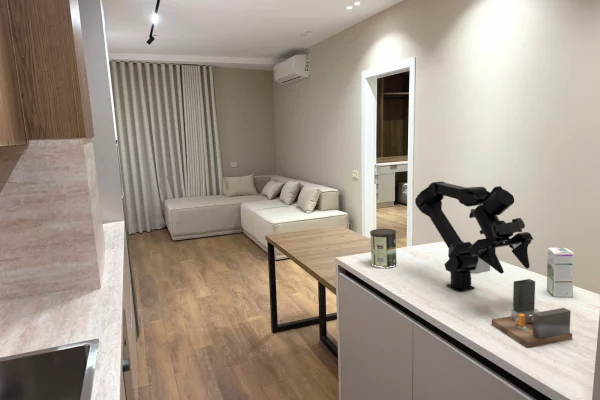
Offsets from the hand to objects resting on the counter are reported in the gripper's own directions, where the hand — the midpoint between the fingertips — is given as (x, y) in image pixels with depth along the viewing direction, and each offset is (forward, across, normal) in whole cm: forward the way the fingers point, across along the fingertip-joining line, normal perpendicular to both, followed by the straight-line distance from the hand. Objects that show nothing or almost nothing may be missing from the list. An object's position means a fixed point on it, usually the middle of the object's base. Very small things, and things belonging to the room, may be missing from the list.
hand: (515, 270), depth 117 cm
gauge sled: (+13, -4, +2) cm, 14 cm away
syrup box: (+7, +23, +13) cm, 27 cm away
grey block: (-15, +17, +38) cm, 44 cm away
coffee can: (-27, -10, +52) cm, 59 cm away
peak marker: (+14, -7, 0) cm, 16 cm away
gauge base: (+16, -5, +1) cm, 17 cm away
